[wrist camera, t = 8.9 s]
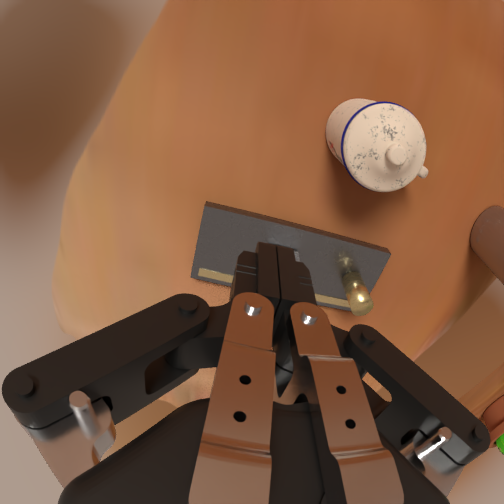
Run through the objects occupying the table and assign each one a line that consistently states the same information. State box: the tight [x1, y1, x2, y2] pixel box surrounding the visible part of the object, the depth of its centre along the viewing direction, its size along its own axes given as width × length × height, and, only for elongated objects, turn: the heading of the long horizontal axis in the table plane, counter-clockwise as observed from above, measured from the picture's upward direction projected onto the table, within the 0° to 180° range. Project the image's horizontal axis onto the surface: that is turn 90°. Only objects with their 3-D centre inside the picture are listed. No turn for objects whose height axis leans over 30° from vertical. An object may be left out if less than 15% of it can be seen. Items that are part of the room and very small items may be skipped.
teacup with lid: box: [326, 99, 428, 192], centre depth 29 cm, size 12×9×12 cm
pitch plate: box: [191, 201, 391, 316], centre depth 40 cm, size 26×11×8 cm, turn 75°
